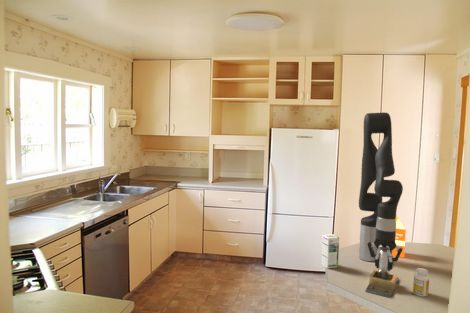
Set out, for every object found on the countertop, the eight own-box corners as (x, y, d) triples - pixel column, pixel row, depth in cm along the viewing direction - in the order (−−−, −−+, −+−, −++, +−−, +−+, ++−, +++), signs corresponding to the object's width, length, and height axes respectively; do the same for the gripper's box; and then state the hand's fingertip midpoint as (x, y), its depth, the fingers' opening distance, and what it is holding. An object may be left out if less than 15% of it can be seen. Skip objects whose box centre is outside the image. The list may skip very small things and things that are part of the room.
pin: (377, 277, 152) (379, 243, 151) (390, 280, 149) (392, 245, 148) (375, 281, 148) (377, 246, 147) (388, 284, 145) (390, 248, 144)
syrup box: (327, 268, 165) (328, 237, 164) (320, 264, 171) (322, 234, 170) (338, 267, 167) (339, 237, 166) (331, 263, 173) (333, 233, 172)
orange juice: (387, 255, 186) (390, 217, 184) (386, 250, 194) (388, 214, 193) (404, 257, 184) (406, 219, 182) (401, 252, 192) (404, 215, 190)
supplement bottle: (423, 290, 145) (425, 267, 144) (431, 296, 140) (432, 272, 139) (410, 290, 145) (411, 267, 144) (417, 296, 139) (419, 272, 139)
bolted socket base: (376, 274, 160) (376, 265, 160) (398, 279, 155) (398, 270, 155) (365, 291, 143) (366, 281, 142) (390, 297, 138) (390, 287, 137)
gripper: (406, 229, 147) (403, 270, 148) (369, 223, 154) (367, 262, 155) (403, 233, 140) (400, 276, 141) (365, 227, 148) (363, 267, 149)
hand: (383, 268), depth 148 cm, fingers closed on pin, 4 cm apart
